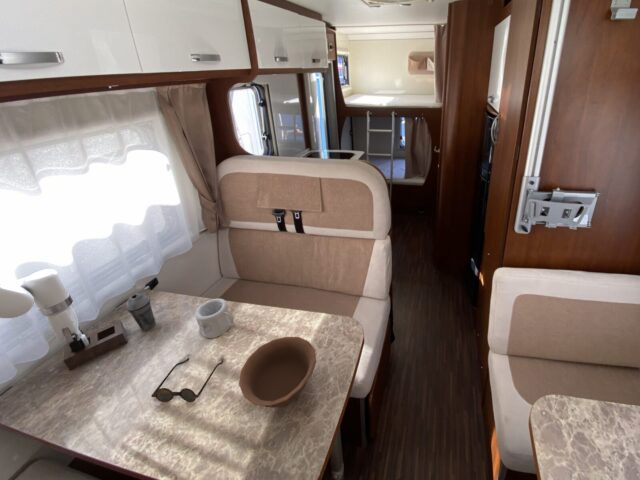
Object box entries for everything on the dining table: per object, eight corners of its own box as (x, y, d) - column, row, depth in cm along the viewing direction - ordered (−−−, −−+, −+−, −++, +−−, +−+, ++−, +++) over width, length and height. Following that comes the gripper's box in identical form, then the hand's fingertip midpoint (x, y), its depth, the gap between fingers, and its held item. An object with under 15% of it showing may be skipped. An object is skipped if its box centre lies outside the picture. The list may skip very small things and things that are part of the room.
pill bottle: (71, 353, 106) (61, 337, 104) (86, 343, 110) (77, 327, 107) (79, 356, 105) (69, 340, 102) (93, 346, 109) (85, 330, 106)
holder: (69, 370, 103) (63, 360, 101) (70, 354, 109) (64, 344, 107) (127, 342, 113) (122, 332, 111) (125, 329, 119) (120, 319, 117)
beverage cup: (133, 331, 118) (113, 290, 110) (152, 317, 124) (134, 278, 116) (145, 336, 115) (125, 295, 108) (164, 322, 121) (147, 282, 114)
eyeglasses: (154, 402, 92) (148, 391, 90) (186, 358, 105) (181, 348, 103) (200, 403, 91) (195, 392, 89) (226, 359, 104) (222, 348, 103)
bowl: (296, 439, 81) (289, 413, 76) (230, 416, 87) (220, 391, 83) (332, 366, 100) (328, 342, 96) (276, 351, 106) (270, 328, 102)
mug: (195, 336, 114) (187, 316, 110) (215, 315, 124) (209, 296, 120) (226, 342, 111) (219, 321, 107) (244, 319, 121) (238, 300, 117)
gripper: (42, 298, 103) (65, 337, 110) (37, 325, 92) (64, 367, 98) (72, 287, 108) (93, 325, 115) (71, 311, 96) (94, 353, 103)
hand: (79, 344), depth 107 cm, fingers closed on pill bottle, 4 cm apart
